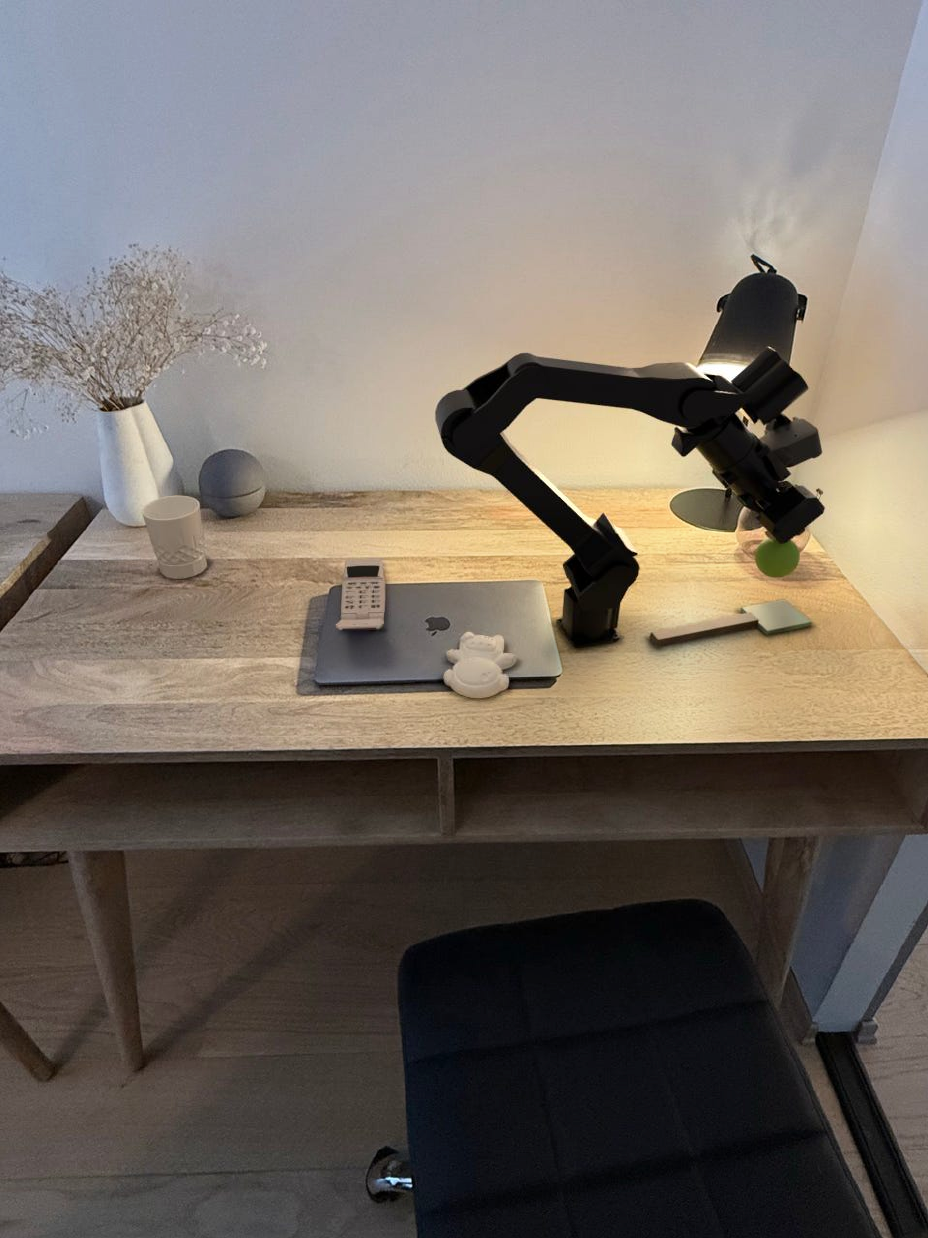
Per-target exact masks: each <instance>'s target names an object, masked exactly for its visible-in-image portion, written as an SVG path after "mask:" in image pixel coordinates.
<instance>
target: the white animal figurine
mask: <svg viewBox="0 0 928 1238" xmlns="http://www.w3.org/2000/svg"><path fill="white" fill-rule="evenodd" d="M459 642H460V643H459V646H458V649H454V648H451V649H449V650H447V651H446V655H445V656H446V658H447V661H448V662H449V663H452V664H453V666H452V669H451V668H448V669H446V670H445V671H444V673H443V682H444V684H445V685H446V686H447V687H450V688H451V689H452V690H453V691H454V692H455V693H457V694H459V695H461V696H463V697H467V698H471V699H486V698H489V697H492V696H495V695H497V694H498V693H499V692H503V691H505V690H507V689H508V688H509V685H510V678H509V676H508V675H507V674H506V673H503V671H504V670H507V669H510V668H512V667H513V666H514V665H515V664H516V663H517V661H518V657H517V655H516V654H514V653H511V652H508V653H507V652H504V650H505V640H504V637H503V636H502V635H500V634H495V635H494V636H492V637H491V636H487V635H483V634H474V632H472V631H466V632H464V634H463V635H462V636H461V637H460V638H459Z"/></svg>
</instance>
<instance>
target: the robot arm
mask: <svg viewBox="0 0 928 1238" xmlns="http://www.w3.org/2000/svg"><path fill="white" fill-rule="evenodd" d="M807 391H809V385H808V383H807V382H806V380H805V379H804V377H803V376H802V374H800V373H799V372H797V371H796V370H795V369H793V367H792V366H791V365H790V364H789V363H788V362H786V361H785V359H783V358H782V357H781V355H780V354H779V352H778V351H776V350H775V349H774V348H772V347H770V346H765V348H764V349H763V350H762V351H760V352H759V353H758V354H757V356H756V357H755V358H754V360H752V362H751V363H749V365H747V366H746V367H745V368H744V369H743V370H742V371H740V372H739V373H738V374H737V375H736V376H734V377H733V379H731V380H729V379H728V378H726V376H723V374H719V373H710V372H703V371H700V370H699V369H698V368H697V367H695V366H694V365H693V364H692V363H689V362H685V361H673V362H658V363H657V362H656V363H652V364H648V365H645V366H642V367H626V366H616V365H610V364H601V363H593V362H585V361H578V360H577V361H576V360H569V359H563V358H562V359H560V358H552V357H545V356H537V355H535V354H533V353H531V352H530V353H529V352H520V353H518V354H515V355H514V356H512V357H511V358H509V360H507V361H506V362H505V363H503V364H502V365H500V366H499V367H497V368H495V369H493V370H491V371H488V372H487V373H485V374H483V375H480V376H479V377H476V378H475V379H474V380H473V381H471V382H470V383H469V384H467V385H466V386H464V387H463V388H462V389H455V390H452V391H449V392H448V393H446V394H444V396H442V397H441V398H440V400H439V402H438V403H437V405H436V408H435V412H434V417H435V418H434V419H435V423H436V427H437V430H438V433H439V437H440V440H441V443H442V445H443V447H444V449H445V450H446V452H447V453H448V454H450V455H451V456H452V457H454V458H455V459H457V460H459V461H460V462H462V463H463V464H465V465H467V466H468V467H470V468H472V469H473V470H476V471H479V472H481V473H484V474H487V475H488V476H491V477H493V478H494V479H495V480H496V481H497V482H498V483H500V484H501V485H502V486H503V487H504V488H505V489H506V490H507V491H508V492H509V493H510V494H512V495H513V496H514V497H515V498H516V499H517V500H518V501H519V502H520V503H521V504H522V505H524V507H526V508H527V509H528V510H529V511H530V512H531V513H532V514H533V515H534V516H535V517H537V519H539V520H540V521H541V522H542V523H543V524H544V525H545V526H546V527H547V528H548V529H550V530H551V531H552V532H553V534H555V535H556V536H557V537H558V538H559V539H560V540H561V541H563V543H565V544H566V545H567V546H568V547H569V549H571V551H572V553H573V554H572V555H571V556H570V557H569V558H567V559H566V560H565V561H564V562H563V563H562V568H563V571H564V574H565V577H566V579H568V582H569V584H570V586H569V588H565V589H564V590H563V602H562V614H561V617H560V618H557V619H556V621H555V625H557V627H558V628H559V630H560V631H561V632H562V633H563V635H564V636H565V637H566V639H567V640H568V641H569V643H570V644H571V646H572V647H573V648H575V649H581V648H586V647H592V646H596V645H602V644H607V643H612V642H617V641H619V640H620V639H621V638H620V637H621V635H620V634H619V632H618V631H617V630H616V629H617V628H618V627H619V618H620V611H621V603H622V601H623V599H624V597H625V596H626V593H627V592H628V590H629V588H630V587H631V586H632V585H633V584H634V583H635V582H636V581H637V578H638V577H639V573H640V569H641V567H640V564H639V562H638V561H637V559H636V557H637V556H638V555H639V554H638V552H637V550H636V548H635V547H634V545H633V544H632V542H631V541H630V539H629V537H628V536H627V535H626V533H625V531H624V530H623V528H621V527H619V526H616V525H615V524H613V523H612V522H611V520H610V518H609V517H608V516H607V515H606V513H605V512H602V513H601V515H600V516H599V517H598V518H597V519H595V518H592V517H589V516H587V515H586V514H584V513H583V512H582V511H581V510H580V508H578V507H577V506H576V505H575V504H574V503H573V502H572V501H571V500H570V499H569V498H568V497H567V496H566V495H565V494H563V492H561V490H560V489H558V487H556V485H554V483H552V482H551V481H550V479H548V478H547V477H546V476H545V475H544V474H543V473H542V472H541V471H540V470H539V469H538V468H536V466H535V465H534V464H533V463H531V462H530V460H528V459H527V458H526V457H525V456H524V455H523V454H522V453H521V452H520V451H519V450H518V449H517V448H516V447H515V446H514V445H513V444H512V443H511V442H510V440H509V439H508V437H507V436H506V434H505V433H504V431H506V430H507V428H509V427H510V426H511V424H513V422H514V421H515V420H516V419H517V418H518V417H519V416H520V414H521V413H522V412H523V411H524V410H525V409H526V407H528V406H529V405H530V404H531V403H533V402H534V401H536V400H537V399H541V400H548V401H558V402H567V403H573V404H574V403H575V404H581V405H582V404H583V405H591V406H602V407H610V408H617V409H626V410H627V409H628V410H633V411H637V412H639V413H642V414H645V415H648V416H649V417H651V418H653V419H656V420H659V421H661V422H663V423H667V424H669V425H673V426H675V427H674V429H673V430H674V434H673V437H672V440H671V443H670V444H671V446H672V447H673V449H674V450H675V452H677V453H678V454H679V455H680V456H681V457H683V458H685V457H687V456H689V454H690V453H692V451H694V450H695V449H696V450H697V451H698V452H699V454H700V455H701V456H702V457H703V458H704V459H705V460H706V462H707V463H708V464H709V466H710V467H711V468H712V470H711V474H712V475H713V476H714V477H715V478H716V479H717V481H719V483H721V485H722V486H723V487H724V488H725V489H726V490H728V489H730V490H731V491H732V492H733V494H734V495H736V499H737V500H738V502H740V503H741V505H743V507H744V508H746V509H748V510H751V511H752V512H755V513H756V514H758V515H756V516H755V519H756V521H758V522H759V523H760V524H761V526H762V527H763V528H764V529H765V531H768V532H769V533H770V534H771V535H772V536H773V537H774V538H775V539H776V540H777V541H778V543H779V544H783V543H787V542H788V541H789V540H792V539H793V538H794V536H795V537H799V536H802V534H804V533H805V531H806V528H807V527H808V526H810V525H811V524H812V523H814V521H816V520H817V519H818V518H819V517H820V516H822V515H823V514H824V512H825V510H826V506H825V505H824V504H823V502H822V501H820V499H819V497H818V496H817V495H815V494H814V493H812V492H811V491H810V490H809V489H808V488H807V487H806V486H805V485H804V484H803V485H801V484H800V485H798V484H796V483H795V484H794V485H793V484H792V483H791V482H790V481H789V480H787V478H789V477H790V476H791V475H792V473H791V472H790V470H789V469H788V468H793V467H795V466H798V465H800V464H802V463H804V462H807V461H809V460H811V459H816V458H818V457H820V456H821V455H823V448H822V443H821V439H820V433H819V429H818V428H817V427H816V426H815V425H814V424H812V423H811V422H809V421H808V420H807V419H805V418H799V417H797V416H796V415H794V416H793V417H792V420H791V419H790V418H789V417H788V416H786V415H785V414H784V413H783V412H784V411H785V410H786V409H788V408H789V407H790V406H792V404H794V403H795V402H796V401H797V400H799V399H800V397H802V396H803V395H804V394H806V392H807ZM737 412H740V413H741V414H742V415H743V416H744V417H745V418H746V419H747V420H748V421H749V423H751V424H752V425H756V424H757V423H758V421H759V423H760V424H761V425H762V426H764V427H765V430H764V431H763V433H764V435H762V436H760V437H759V438H758V436H757V435H756V434H754V432H752V431H750V429H749V428H748V427H747V425H746V424H745V423H744V421H742V420H741V418H740V417H739V416H738V415H737ZM816 496H817V497H816ZM796 535H797V536H796Z"/></svg>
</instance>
